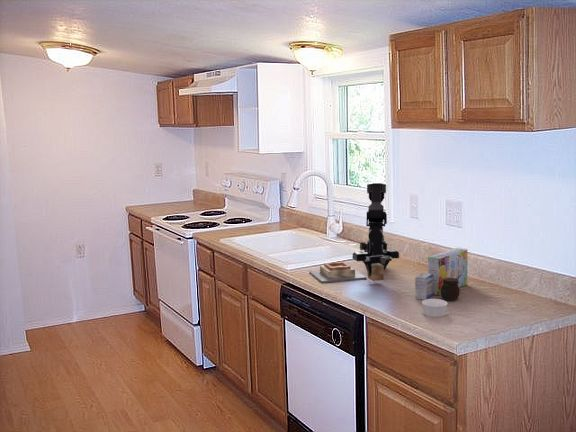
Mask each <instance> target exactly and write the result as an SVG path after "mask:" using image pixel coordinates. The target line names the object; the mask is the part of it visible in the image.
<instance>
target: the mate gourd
mask: <svg viewBox="0 0 576 432" xmlns="http://www.w3.org/2000/svg"><path fill="white" fill-rule="evenodd" d="M461 275H462V274H460V276H461ZM460 276H458V277H457V278H451V277H447V278H444V279H443V285H442V287H441V290H440V292H441V295H440V296H441V298H442V300H444V301H446V302H448V301H449V302H455V301H457V299H459V297H460V294H461V290H460V288H459V287H458V278H459V277H460Z"/></svg>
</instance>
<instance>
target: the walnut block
mask: <svg viewBox="0 0 576 432" xmlns="http://www.w3.org/2000/svg"><path fill="white" fill-rule="evenodd" d="M384 278H385V271H384V266H383V265H381V264H380V263H375V264H371V276H369V274H368V273H367V279H369V280H370V281H372V282H376V281H384V280H385V279H384Z"/></svg>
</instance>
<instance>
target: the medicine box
mask: <svg viewBox="0 0 576 432" xmlns="http://www.w3.org/2000/svg"><path fill="white" fill-rule="evenodd" d="M414 279H415V281H414V292H415V294H414V298H415V299H416V300H422V301H423V300H426V299H430V298H431V297H432V296H433V295H434V294H433V274H430V273H428V272H422V273H420V274H419V275H417V276H415V277H414Z"/></svg>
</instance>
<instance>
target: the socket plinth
mask: <svg viewBox="0 0 576 432" xmlns="http://www.w3.org/2000/svg"><path fill="white" fill-rule="evenodd" d="M319 270H320V272H321V273H322V274H323V275H325V276H326V277H327V278H328V279H330V278H342V277H353V276H355V270H356V269H355V268H354V267H352V266H351V265H349V264H348V263H346V262H345V261H335V262H326V263H324V264H323V265H322V264H320V265H319Z"/></svg>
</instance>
